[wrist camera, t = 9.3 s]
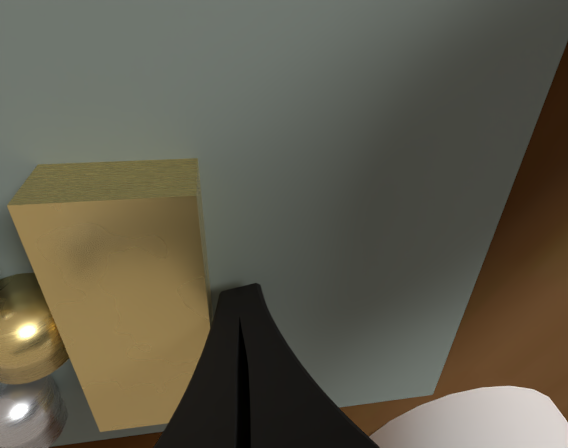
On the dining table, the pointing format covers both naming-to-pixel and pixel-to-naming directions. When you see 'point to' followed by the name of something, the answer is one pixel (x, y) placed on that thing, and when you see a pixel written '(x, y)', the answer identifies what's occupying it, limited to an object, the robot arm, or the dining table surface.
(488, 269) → the dining table surface
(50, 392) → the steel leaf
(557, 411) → the honey pot
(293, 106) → the mat
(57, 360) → the tan knobbed block
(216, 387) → the robot arm
